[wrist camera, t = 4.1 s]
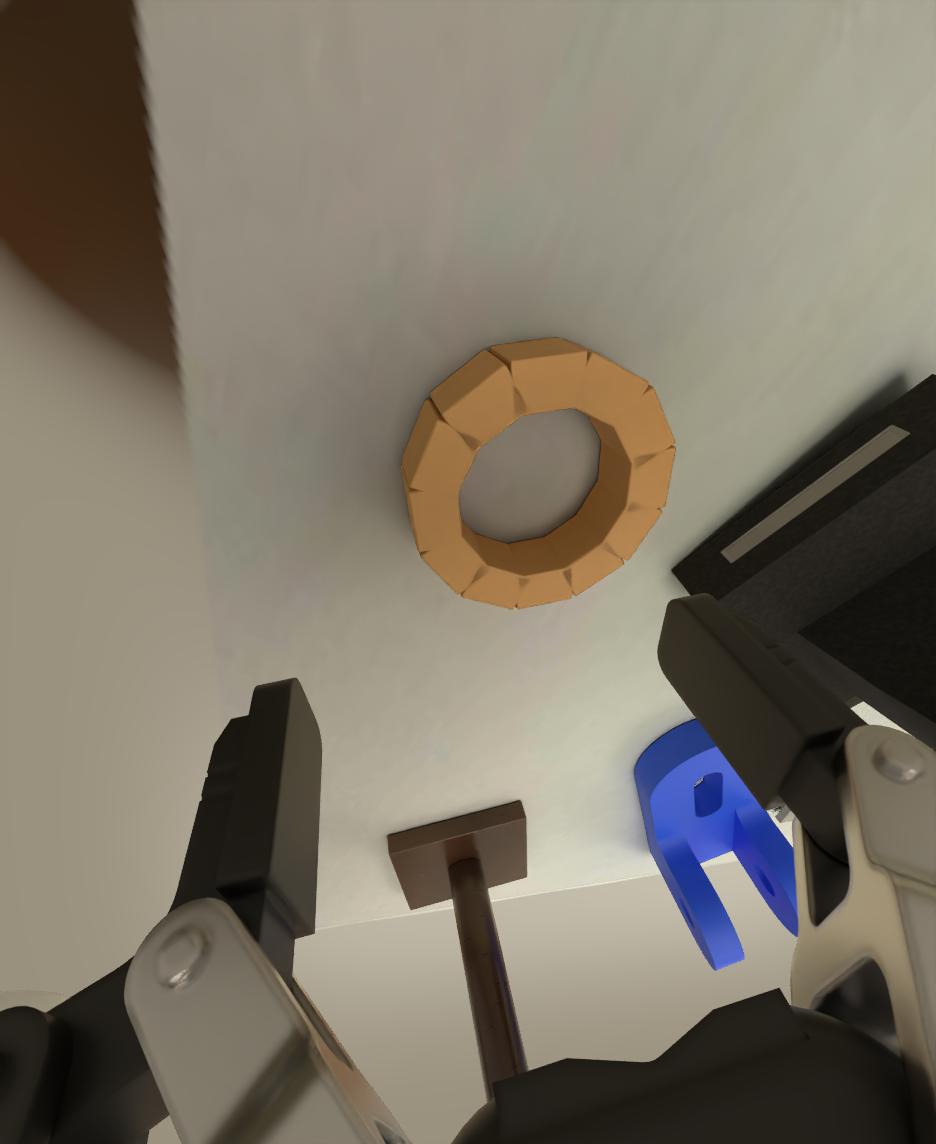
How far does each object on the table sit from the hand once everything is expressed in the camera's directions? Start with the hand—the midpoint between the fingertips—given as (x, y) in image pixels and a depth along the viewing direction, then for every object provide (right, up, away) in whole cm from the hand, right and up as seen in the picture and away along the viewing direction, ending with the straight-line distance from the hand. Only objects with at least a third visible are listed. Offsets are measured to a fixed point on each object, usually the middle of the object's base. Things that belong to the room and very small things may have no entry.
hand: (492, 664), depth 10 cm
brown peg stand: (-1, -18, +24) cm, 30 cm away
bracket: (+16, -14, +26) cm, 34 cm away
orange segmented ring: (+2, +6, +8) cm, 10 cm away
